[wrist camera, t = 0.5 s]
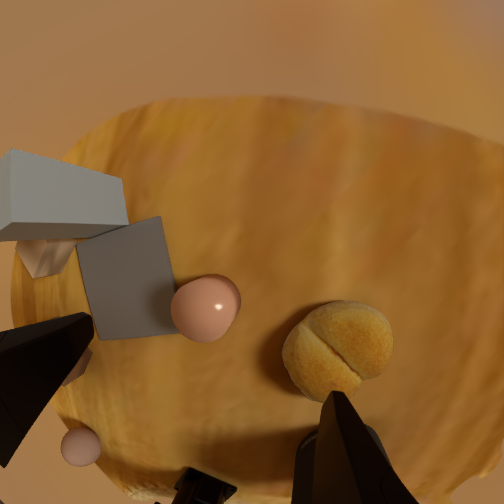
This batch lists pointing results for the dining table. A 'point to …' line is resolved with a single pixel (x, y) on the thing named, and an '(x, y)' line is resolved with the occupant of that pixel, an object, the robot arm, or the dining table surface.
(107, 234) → the coaster
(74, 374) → the walnut brick
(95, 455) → the mauve oval ball
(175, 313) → the pink rounded pebble
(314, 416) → the dining table surface
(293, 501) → the pen holder
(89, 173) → the tall block
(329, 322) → the bread roll
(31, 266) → the beech cube
